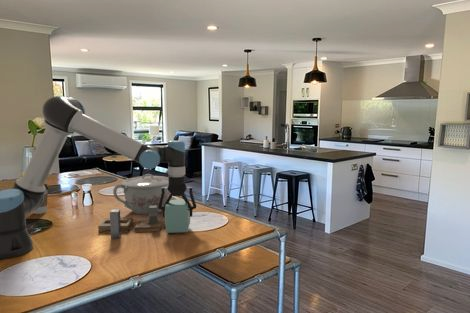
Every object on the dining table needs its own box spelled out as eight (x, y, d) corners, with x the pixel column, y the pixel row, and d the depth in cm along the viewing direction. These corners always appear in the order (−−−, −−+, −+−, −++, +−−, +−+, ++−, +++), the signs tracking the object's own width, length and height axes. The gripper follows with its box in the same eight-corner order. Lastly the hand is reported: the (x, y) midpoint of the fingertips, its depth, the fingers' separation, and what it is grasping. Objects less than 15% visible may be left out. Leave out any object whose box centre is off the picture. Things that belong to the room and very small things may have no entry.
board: (159, 231, 153) (158, 209, 152) (134, 231, 152) (133, 210, 151) (162, 223, 164) (162, 203, 162) (139, 223, 163) (139, 203, 162)
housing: (187, 232, 148) (187, 205, 147) (165, 232, 148) (165, 206, 146) (189, 224, 158) (188, 199, 157) (168, 224, 158) (167, 200, 156)
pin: (119, 238, 144) (117, 211, 142) (111, 239, 143) (109, 211, 142) (121, 235, 147) (120, 209, 145) (113, 236, 147) (112, 209, 145)
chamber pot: (182, 206, 193) (181, 170, 190) (159, 221, 166) (158, 180, 164) (139, 202, 200) (138, 168, 197) (110, 216, 174) (108, 177, 171)
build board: (128, 231, 152) (127, 225, 152) (98, 232, 151) (98, 226, 151) (133, 223, 163) (133, 217, 162) (106, 224, 162) (105, 218, 161)
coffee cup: (41, 215, 175) (39, 187, 173) (27, 214, 177) (25, 186, 175) (53, 210, 183) (51, 183, 181) (40, 209, 185) (37, 182, 183)
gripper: (202, 173, 154) (202, 220, 157) (152, 174, 152) (154, 221, 155) (201, 176, 147) (202, 226, 150) (150, 177, 145) (151, 226, 148)
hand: (177, 223), depth 153 cm, fingers closed on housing, 10 cm apart
